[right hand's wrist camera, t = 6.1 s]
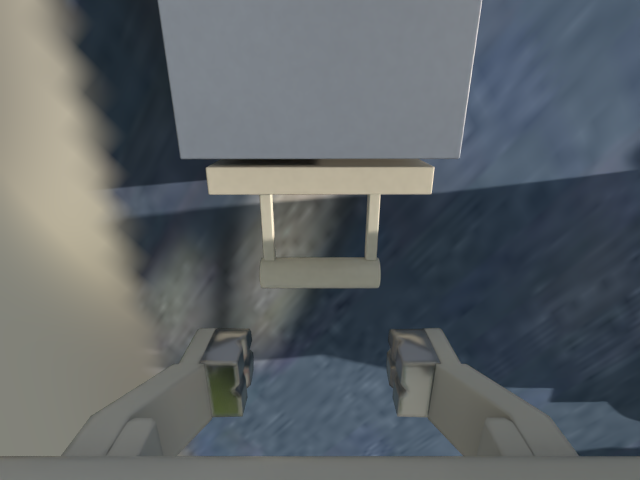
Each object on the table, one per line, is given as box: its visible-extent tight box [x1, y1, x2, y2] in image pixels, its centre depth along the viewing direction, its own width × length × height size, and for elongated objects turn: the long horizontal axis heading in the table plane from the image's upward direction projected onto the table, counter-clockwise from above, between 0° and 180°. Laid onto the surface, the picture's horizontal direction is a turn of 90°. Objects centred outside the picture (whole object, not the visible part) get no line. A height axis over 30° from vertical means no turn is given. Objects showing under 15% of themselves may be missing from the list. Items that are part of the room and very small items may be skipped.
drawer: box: [206, 159, 434, 288], centre depth 16 cm, size 26×10×8 cm, turn 0°
